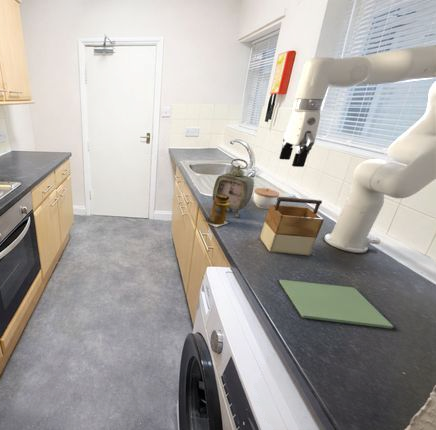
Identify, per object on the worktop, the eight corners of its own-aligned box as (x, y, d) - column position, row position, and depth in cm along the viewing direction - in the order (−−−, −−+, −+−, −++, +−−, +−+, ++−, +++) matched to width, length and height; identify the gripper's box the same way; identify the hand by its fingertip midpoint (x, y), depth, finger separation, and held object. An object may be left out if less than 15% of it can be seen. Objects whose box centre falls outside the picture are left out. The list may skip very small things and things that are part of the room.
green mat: (353, 289, 76) (354, 287, 75) (392, 328, 63) (393, 326, 63) (279, 281, 78) (279, 279, 78) (302, 317, 66) (303, 315, 65)
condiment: (228, 222, 113) (235, 196, 108) (216, 227, 109) (222, 200, 104) (214, 216, 118) (219, 191, 113) (202, 220, 114) (206, 194, 109)
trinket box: (275, 205, 132) (281, 187, 128) (274, 212, 124) (279, 193, 120) (252, 200, 138) (256, 183, 134) (249, 207, 129) (254, 189, 125)
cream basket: (295, 240, 100) (301, 224, 97) (309, 255, 91) (316, 238, 88) (259, 237, 102) (264, 221, 99) (269, 251, 93) (275, 234, 90)
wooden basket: (302, 224, 97) (313, 194, 92) (317, 238, 88) (330, 205, 83) (264, 221, 99) (272, 192, 94) (274, 234, 90) (284, 202, 85)
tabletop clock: (209, 210, 125) (219, 157, 114) (218, 205, 131) (229, 154, 120) (239, 220, 116) (254, 163, 105) (248, 214, 121) (262, 160, 111)
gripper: (338, 107, 70) (317, 170, 78) (306, 104, 86) (291, 157, 93) (308, 107, 71) (289, 169, 79) (282, 104, 87) (268, 156, 94)
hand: (290, 162), depth 86 cm, fingers open, 9 cm apart
